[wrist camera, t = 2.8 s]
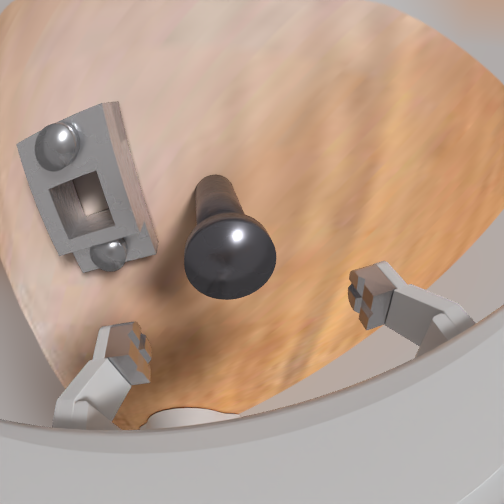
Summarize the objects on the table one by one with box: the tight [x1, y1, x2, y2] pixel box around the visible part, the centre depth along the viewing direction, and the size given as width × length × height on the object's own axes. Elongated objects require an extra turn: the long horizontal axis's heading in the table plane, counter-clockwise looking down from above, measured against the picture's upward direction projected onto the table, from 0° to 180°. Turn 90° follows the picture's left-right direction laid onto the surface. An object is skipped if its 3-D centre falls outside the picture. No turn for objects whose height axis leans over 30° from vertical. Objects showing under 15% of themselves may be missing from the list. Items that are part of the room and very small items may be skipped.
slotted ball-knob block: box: [17, 101, 159, 273], centre depth 17 cm, size 12×7×5 cm, turn 8°
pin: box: [184, 175, 276, 300], centre depth 18 cm, size 4×4×10 cm
